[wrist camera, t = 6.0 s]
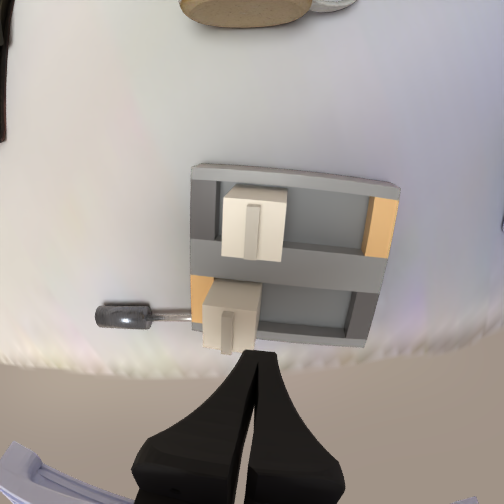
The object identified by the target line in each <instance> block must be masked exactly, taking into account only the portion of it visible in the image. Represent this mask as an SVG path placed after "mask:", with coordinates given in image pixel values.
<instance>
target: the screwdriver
mask: <svg viewBox="0 0 504 504" xmlns="http://www.w3.org/2000/svg"><path fill="white" fill-rule="evenodd" d="M95 320H96V323H97V325H98V326H99V327H102V328H122V329H149V328H150V327H151V324H152V321H192V315H152V313H151V310H150V308H149V307H148V306H99V307H98V308H97V309H96V312H95Z"/></svg>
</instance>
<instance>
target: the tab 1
mask: <svg viewBox="0 0 504 504" xmlns="http://www.w3.org/2000/svg"><path fill="white" fill-rule="evenodd" d="M286 206H287V188H278V187H267V186H255V185H243V184H236V185H235V186H234V187H233V188H232V189H231V190H230V191H229V192H228V193H227V194H226V195H225V196H224V197H223V221H222V249H221V256H227V257H236V258H244V259H246V260H265V261H275V262H281V256H282V247H283V237H284V227H285V216H286Z"/></svg>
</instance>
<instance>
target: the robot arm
mask: <svg viewBox="0 0 504 504" xmlns="http://www.w3.org/2000/svg"><path fill="white" fill-rule="evenodd" d="M503 232H504V223H503ZM253 409H254V434H253V440H252V446H251V452H250V458H249V464H248V472H247V482H246V492H245V499H244V504H337V502H338V501H339V499H340V498H341V496H342V495H343V493H344V491H345V481H344V476H343V473H342V470H341V467H340V465H339V462H338V461H337V460H336V459H335V458H334V457H333V456H332V455H331V454H330V453H329V452H327V450H326V449H325V448H324V447H323V446H322V445H321V444H320V443H319V442H318V441H317V439H316V438H315V437H314V436H313V434H312V433H311V432H310V430H309V429H308V428H307V426H306V425H305V423H304V422H303V420H302V419H301V417H300V416H299V414H298V412H297V411H296V409H295V407H294V405H293V403H292V401H291V399H290V397H289V395H288V392H287V390H286V388H285V385H284V382H283V379H282V376H281V373H280V370H279V366H278V360H277V354H276V353H275V352H267V351H257V350H247V349H246V350H244V351H243V353H242V355H241V357H240V359H239V360H238V362H237V364H236V365H235V367H234V368H233V370H232V371H231V372H230V374H229V375H228V377H227V378H226V379H225V380H224V382H223V383H222V384H221V385H220V386H219V387H218V389H217V390H216V391H215V392H214V393H213V394H212V395H211V396H210V397H209V398H208V399H207V400H206V401H205V402H204V403H203V404H202V405H201V406H200V407H198V408H197V409H196V410H194V411H193V412H192V413H191V414H189V415H188V416H187V417H185V418H184V419H182V420H181V421H179V422H178V423H176V424H174V425H173V426H171V427H170V428H168V429H166V430H164V431H162V432H160V433H158V434H156V435H154V436H152V437H150V438H148V439H147V440H146V442H145V443H144V444H143V446H142V447H141V449H140V450H139V452H138V454H137V456H136V458H135V461H134V463H133V466H132V468H131V470H132V474H133V476H134V478H135V480H136V482H137V484H138V486H139V488H140V489H139V491H138V494H137V496H136V499H135V500H132V499H129V498H126V497H123V496H120V495H117V494H114V493H111V492H109V491H106V490H103V489H100V488H98V487H95V486H93V485H90V484H88V483H85V482H83V481H81V480H78V479H76V478H74V477H71V476H69V475H67V474H65V473H62V472H60V471H58V470H56V469H54V468H52V467H50V466H48V465H46V464H44V463H42V461H41V459H40V458H39V456H38V455H37V454H36V453H35V452H33V451H32V450H30V449H29V448H27V447H25V446H23V445H21V444H19V443H18V442H16V441H13V442H12V443H11V445H10V446H9V447H8V449H7V450H6V452H5V453H4V455H3V456H2V457H1V459H0V491H1V492H2V493H3V494H4V495H5V496H6V497H7V498H8V499H9V500H10V501H11V502H12V503H14V504H234V502H235V495H236V488H237V482H238V476H239V470H240V464H241V457H242V452H243V447H244V443H245V439H246V435H247V431H248V428H249V424H250V420H251V416H252V412H253ZM451 504H478V500H477V497H475V496H474V497H471V498H467V499H463V500H460V501H456V502H453V503H451Z"/></svg>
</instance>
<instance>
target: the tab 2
mask: <svg viewBox="0 0 504 504" xmlns="http://www.w3.org/2000/svg"><path fill="white" fill-rule="evenodd" d="M261 294H262V283H261V282H251V281H242V280H233V279H224V278H215V280H214V282H213V284H212V286H211V288H210V290H209V292H208V294H207V296H206V298H205V300H204V302H203V304H202V327H203V347H204V348H211V349H218V350H221V354H226V355H231V354H232V352H240V353H243V351H244V350H246V349H247V350H254V346H255V340H256V334H257V329H258V323H259V317H260V306H261Z"/></svg>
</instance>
